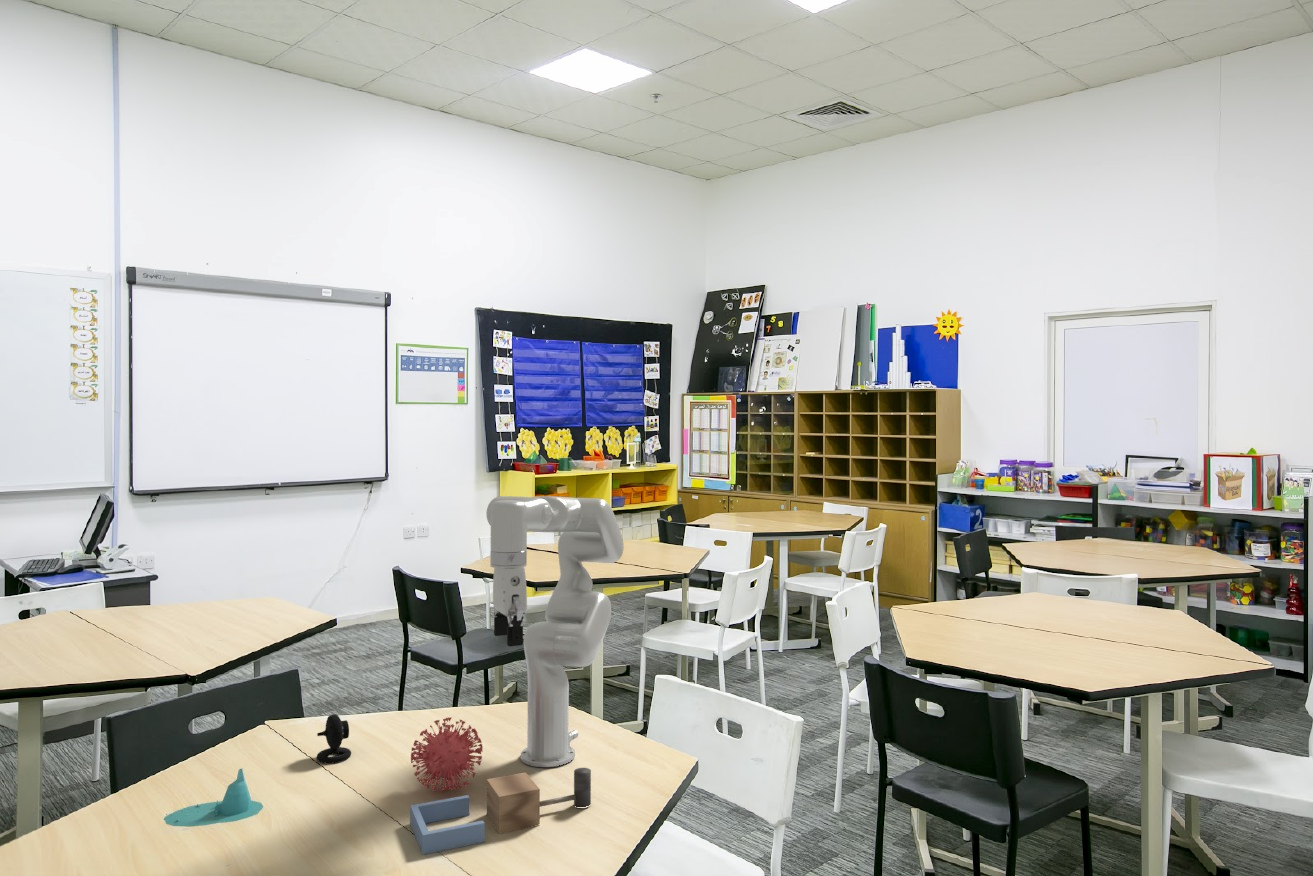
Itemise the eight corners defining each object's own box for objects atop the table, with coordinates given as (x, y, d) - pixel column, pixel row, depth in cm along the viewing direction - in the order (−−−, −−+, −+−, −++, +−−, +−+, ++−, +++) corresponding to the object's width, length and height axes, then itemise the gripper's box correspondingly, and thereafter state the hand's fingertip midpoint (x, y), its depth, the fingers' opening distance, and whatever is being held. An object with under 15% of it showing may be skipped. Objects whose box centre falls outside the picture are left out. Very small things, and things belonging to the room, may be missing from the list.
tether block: (499, 833, 159) (499, 796, 159) (486, 814, 167) (486, 779, 167) (598, 812, 168) (598, 777, 168) (582, 795, 176) (582, 761, 176)
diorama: (167, 807, 170) (167, 764, 170) (274, 796, 175) (274, 755, 175) (147, 834, 158) (148, 789, 158) (263, 822, 164) (263, 778, 164)
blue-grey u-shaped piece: (422, 854, 151) (422, 835, 151) (410, 823, 163) (410, 805, 163) (484, 842, 155) (484, 823, 155) (467, 812, 168) (468, 795, 168)
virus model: (495, 781, 183) (495, 712, 183) (457, 809, 169) (457, 735, 169) (436, 771, 188) (437, 705, 188) (395, 798, 174) (396, 726, 174)
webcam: (354, 760, 194) (355, 716, 194) (321, 767, 190) (321, 722, 190) (346, 749, 201) (346, 707, 201) (313, 756, 197) (313, 713, 197)
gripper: (538, 563, 171) (538, 647, 171) (513, 552, 186) (513, 629, 186) (502, 566, 167) (502, 651, 167) (480, 554, 183) (480, 633, 183)
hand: (508, 640), depth 177 cm, fingers open, 9 cm apart
